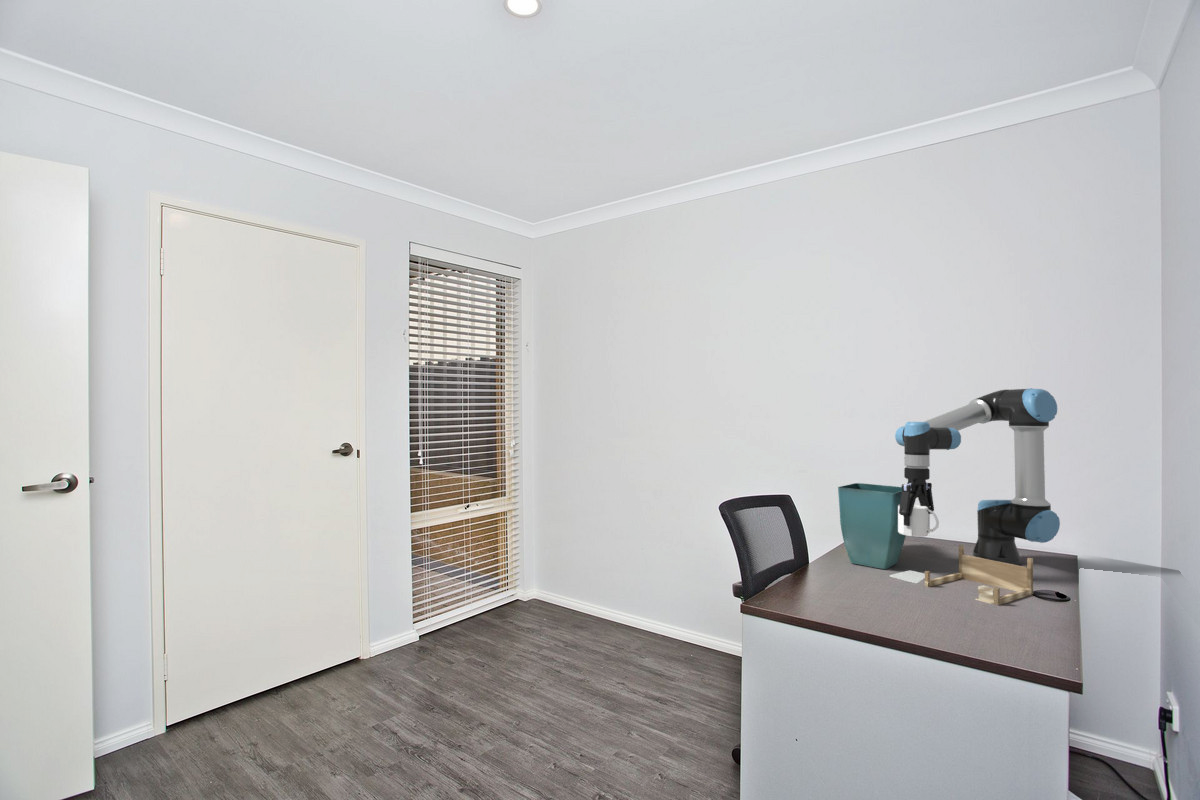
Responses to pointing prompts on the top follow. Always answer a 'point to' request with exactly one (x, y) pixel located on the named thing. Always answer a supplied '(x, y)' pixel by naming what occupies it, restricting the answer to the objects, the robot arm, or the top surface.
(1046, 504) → the robot arm
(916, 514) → the mug
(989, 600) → the offcut
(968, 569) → the frame
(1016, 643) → the top surface
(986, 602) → the offcut
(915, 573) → the felt mat
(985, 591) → the offcut
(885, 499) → the flower pot
